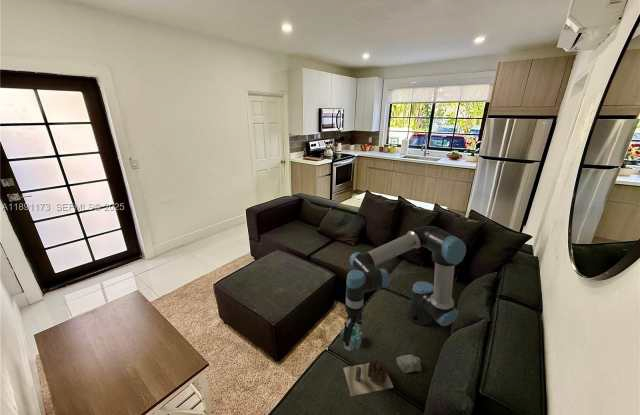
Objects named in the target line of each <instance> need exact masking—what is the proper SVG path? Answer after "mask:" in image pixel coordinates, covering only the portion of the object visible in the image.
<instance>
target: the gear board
mask: <svg viewBox="0 0 640 415" xmlns="http://www.w3.org/2000/svg"><path fill="white" fill-rule="evenodd" d="M368 365H369V362H368V363H367V362H366V363H363V364H362V363H361V364H357V365H352V366H346V367H343V368H342V369H343V372H344V375H345V379H346V383H347V387H348V389H349V392H350V396H351V397H354V396H359V395H365V394H369V393H373V392H378V391H382V390H388V389H392V388H394V385H393V382H392V381H391V378H390V375H389V374H388V373H389V372H388V373H387V379H386V382H385V383H383V382H381V385H377V382H375V381H374V383H372V382H371V381H370V378H371V377H368ZM375 370H378V371H380V370H381V364H380V363H376V367H375Z"/></svg>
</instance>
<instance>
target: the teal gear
mask: <svg viewBox="0 0 640 415" xmlns="http://www.w3.org/2000/svg"><path fill="white" fill-rule="evenodd" d="M343 334H344V330H343ZM341 337H342V338H341V339H342V340H341V341H342V343H343V347H344V348H345V342H343V335H342V336H341ZM362 340H363V331H361V328H360V326H359V327H357V328H356V327H353V330H352V335H351V350H350V351H354V349H356V350H358V349H359V348H360V346H361V345H362Z"/></svg>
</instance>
